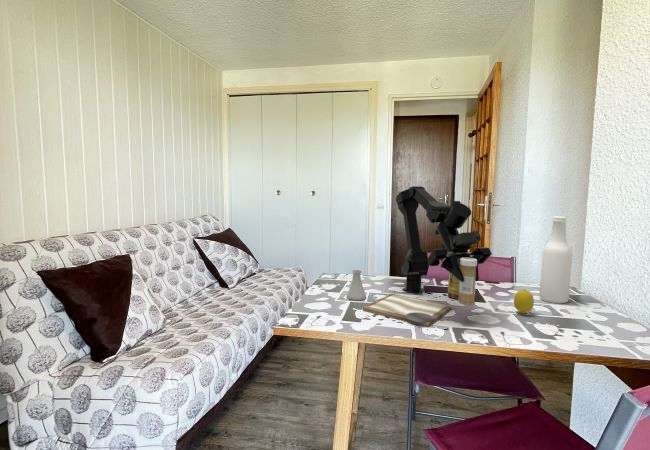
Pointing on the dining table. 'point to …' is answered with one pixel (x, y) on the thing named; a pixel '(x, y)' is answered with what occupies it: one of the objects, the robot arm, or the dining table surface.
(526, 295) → the lemon
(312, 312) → the dining table surface
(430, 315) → the beige tray
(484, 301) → the dining table surface
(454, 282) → the sauce bottle
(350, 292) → the flask
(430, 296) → the dining table surface
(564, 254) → the alcohol
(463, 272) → the sprinkles bottle
